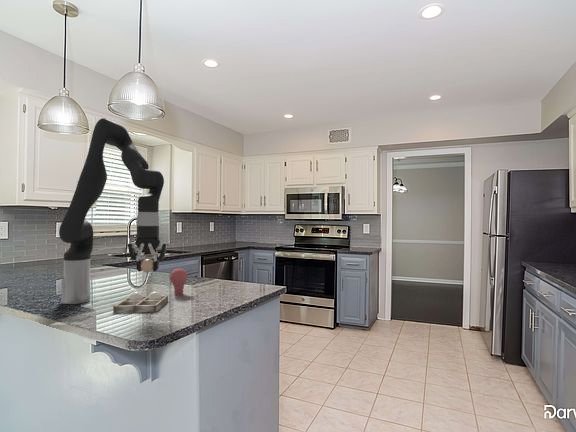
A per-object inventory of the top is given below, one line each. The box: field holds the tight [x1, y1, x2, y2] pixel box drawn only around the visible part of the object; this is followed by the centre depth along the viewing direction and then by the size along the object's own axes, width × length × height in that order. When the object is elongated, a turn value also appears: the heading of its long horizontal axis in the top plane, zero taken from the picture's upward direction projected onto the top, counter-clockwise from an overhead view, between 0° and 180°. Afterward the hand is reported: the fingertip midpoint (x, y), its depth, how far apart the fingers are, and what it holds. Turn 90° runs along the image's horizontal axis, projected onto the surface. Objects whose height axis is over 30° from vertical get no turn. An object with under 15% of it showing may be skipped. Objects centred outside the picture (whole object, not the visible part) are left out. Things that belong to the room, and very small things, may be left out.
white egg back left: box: [129, 291, 144, 301], centre depth 131 cm, size 5×5×5 cm
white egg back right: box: [147, 290, 162, 300], centre depth 131 cm, size 5×5×5 cm
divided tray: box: [112, 295, 169, 314], centre depth 128 cm, size 15×15×3 cm
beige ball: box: [141, 258, 154, 274], centre depth 124 cm, size 5×5×5 cm
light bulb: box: [169, 268, 188, 296], centre depth 147 cm, size 7×7×12 cm
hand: (147, 271), depth 124 cm, fingers closed on beige ball, 4 cm apart
